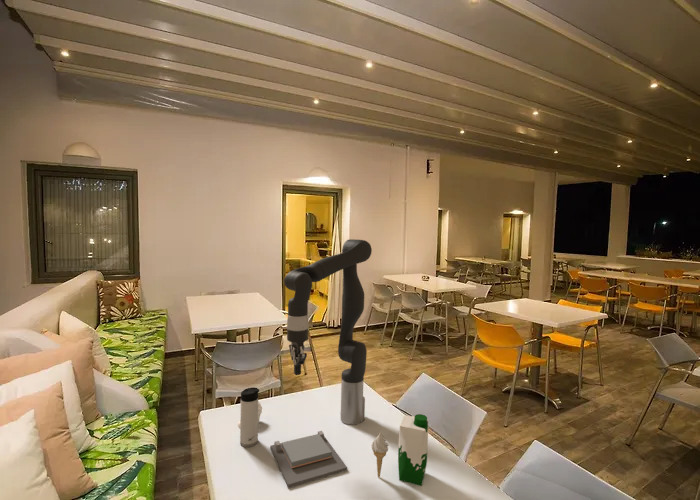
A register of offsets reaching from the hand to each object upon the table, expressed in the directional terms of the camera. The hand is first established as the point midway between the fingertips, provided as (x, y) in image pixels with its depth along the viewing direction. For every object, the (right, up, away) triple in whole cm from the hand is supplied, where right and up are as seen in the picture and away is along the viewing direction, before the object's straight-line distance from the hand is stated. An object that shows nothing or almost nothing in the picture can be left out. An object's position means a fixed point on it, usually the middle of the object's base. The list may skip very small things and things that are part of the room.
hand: (297, 374), depth 132 cm
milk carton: (+39, -29, -14) cm, 50 cm away
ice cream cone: (+28, -28, -15) cm, 43 cm away
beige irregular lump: (-22, -26, +14) cm, 36 cm away
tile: (+1, -25, 0) cm, 25 cm away
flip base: (+4, -27, -7) cm, 28 cm away
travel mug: (-18, -26, +2) cm, 32 cm away
